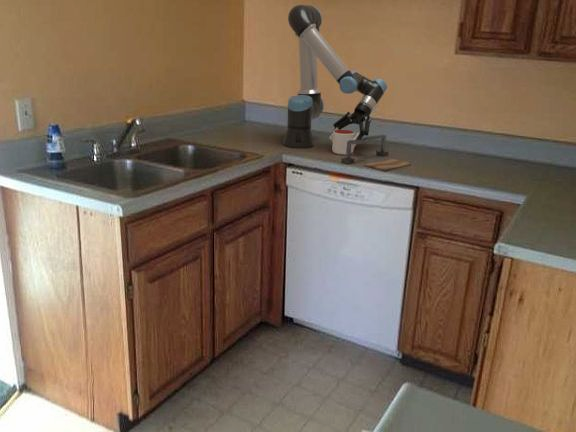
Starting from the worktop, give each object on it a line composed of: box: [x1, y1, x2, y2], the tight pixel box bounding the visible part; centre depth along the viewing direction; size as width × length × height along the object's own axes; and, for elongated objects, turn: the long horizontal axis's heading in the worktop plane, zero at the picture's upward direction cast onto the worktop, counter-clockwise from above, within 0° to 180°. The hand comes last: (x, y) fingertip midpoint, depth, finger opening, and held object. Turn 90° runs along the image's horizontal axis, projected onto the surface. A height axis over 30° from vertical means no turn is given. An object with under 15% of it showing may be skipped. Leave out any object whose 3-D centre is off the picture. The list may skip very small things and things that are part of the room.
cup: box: [331, 129, 356, 156], centre depth 254 cm, size 10×10×10 cm
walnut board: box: [364, 158, 412, 172], centre depth 236 cm, size 11×18×1 cm, turn 132°
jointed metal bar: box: [341, 134, 389, 165], centre depth 244 cm, size 5×28×10 cm, turn 132°
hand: (341, 142), depth 253 cm, fingers open, 13 cm apart
